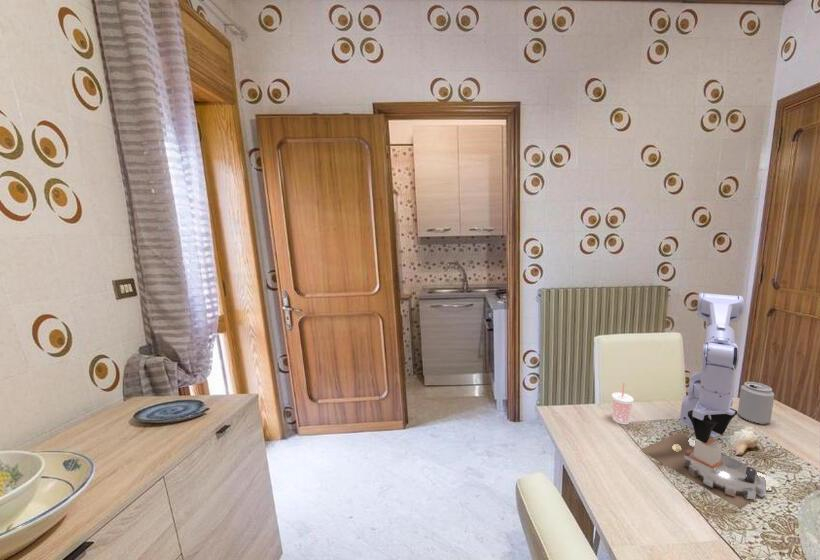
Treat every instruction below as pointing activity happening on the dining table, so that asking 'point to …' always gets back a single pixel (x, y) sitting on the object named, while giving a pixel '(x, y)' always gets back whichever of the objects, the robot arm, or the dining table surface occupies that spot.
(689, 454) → the sprocket
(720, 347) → the robot arm
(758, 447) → the dining table surface
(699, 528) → the dining table surface
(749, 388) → the can
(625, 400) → the beverage cup
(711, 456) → the link block
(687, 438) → the board
